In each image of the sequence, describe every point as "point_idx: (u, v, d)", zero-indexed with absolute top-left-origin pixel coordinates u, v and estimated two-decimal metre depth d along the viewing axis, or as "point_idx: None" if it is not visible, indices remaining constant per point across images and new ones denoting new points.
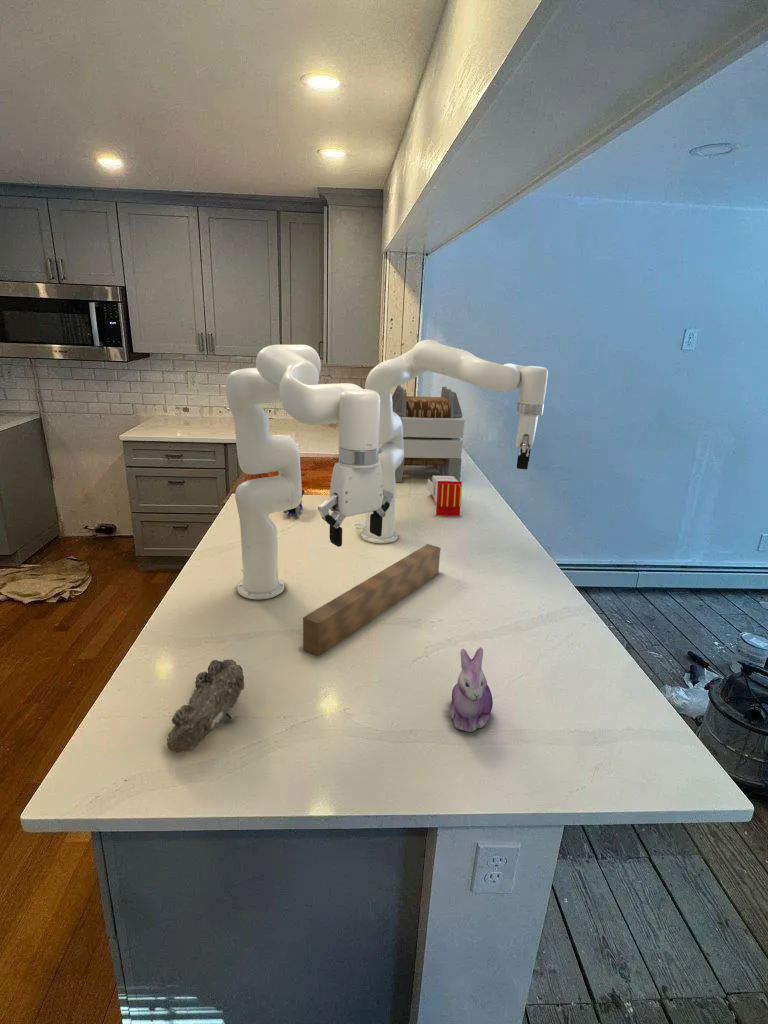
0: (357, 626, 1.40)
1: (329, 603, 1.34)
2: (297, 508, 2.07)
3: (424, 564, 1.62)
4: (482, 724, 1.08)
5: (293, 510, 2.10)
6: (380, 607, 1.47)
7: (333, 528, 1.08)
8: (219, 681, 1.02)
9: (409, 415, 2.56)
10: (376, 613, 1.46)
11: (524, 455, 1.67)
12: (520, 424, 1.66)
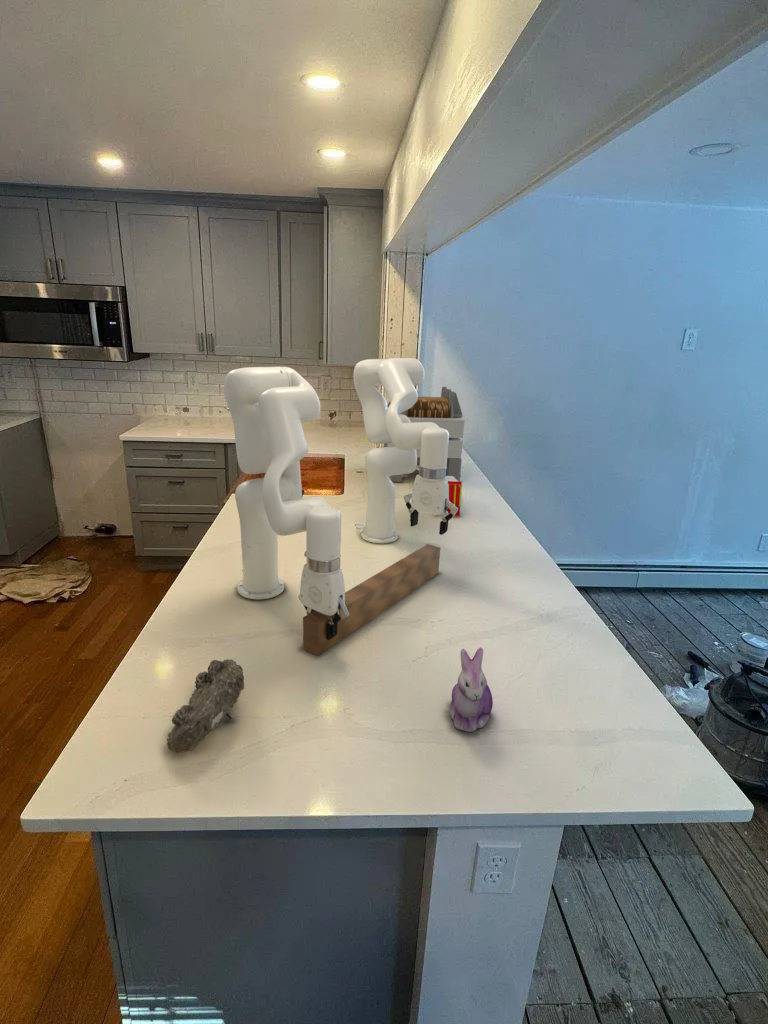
0: (357, 626, 1.40)
1: None
2: None
3: (424, 564, 1.62)
4: (482, 724, 1.08)
5: None
6: (380, 607, 1.47)
7: (336, 623, 1.29)
8: (219, 681, 1.02)
9: (409, 415, 2.56)
10: (376, 613, 1.46)
11: (449, 519, 1.60)
12: (442, 490, 1.56)
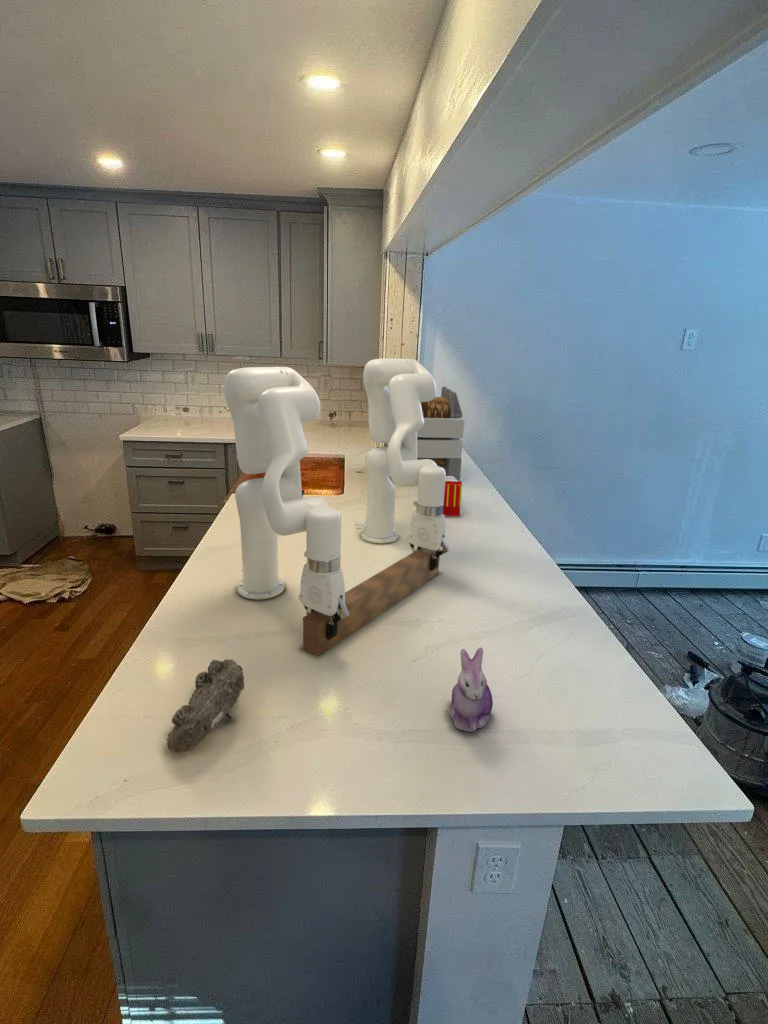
0: (357, 626, 1.40)
1: None
2: None
3: (424, 564, 1.62)
4: (482, 724, 1.08)
5: None
6: (380, 607, 1.47)
7: (336, 623, 1.29)
8: (219, 681, 1.02)
9: None
10: (376, 613, 1.46)
11: None
12: (439, 527, 1.59)
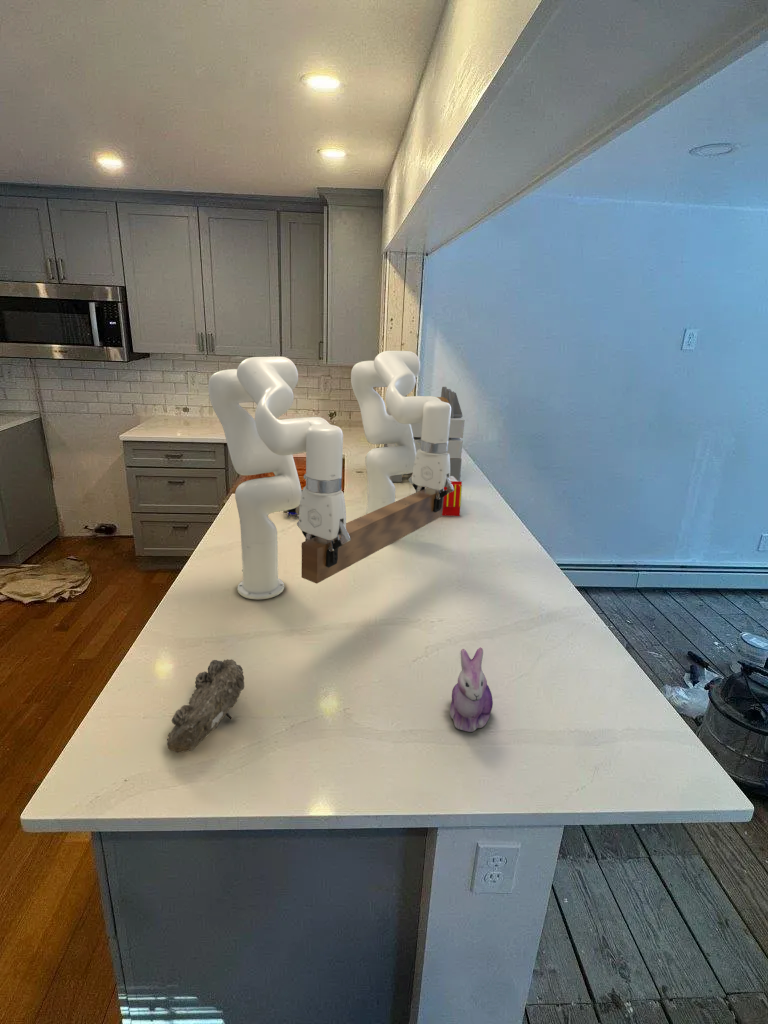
0: (358, 558, 1.34)
1: None
2: (297, 508, 2.07)
3: (427, 504, 1.56)
4: (482, 724, 1.08)
5: (293, 510, 2.10)
6: (382, 542, 1.41)
7: (336, 550, 1.23)
8: (219, 681, 1.02)
9: None
10: (378, 548, 1.40)
11: None
12: (443, 465, 1.53)
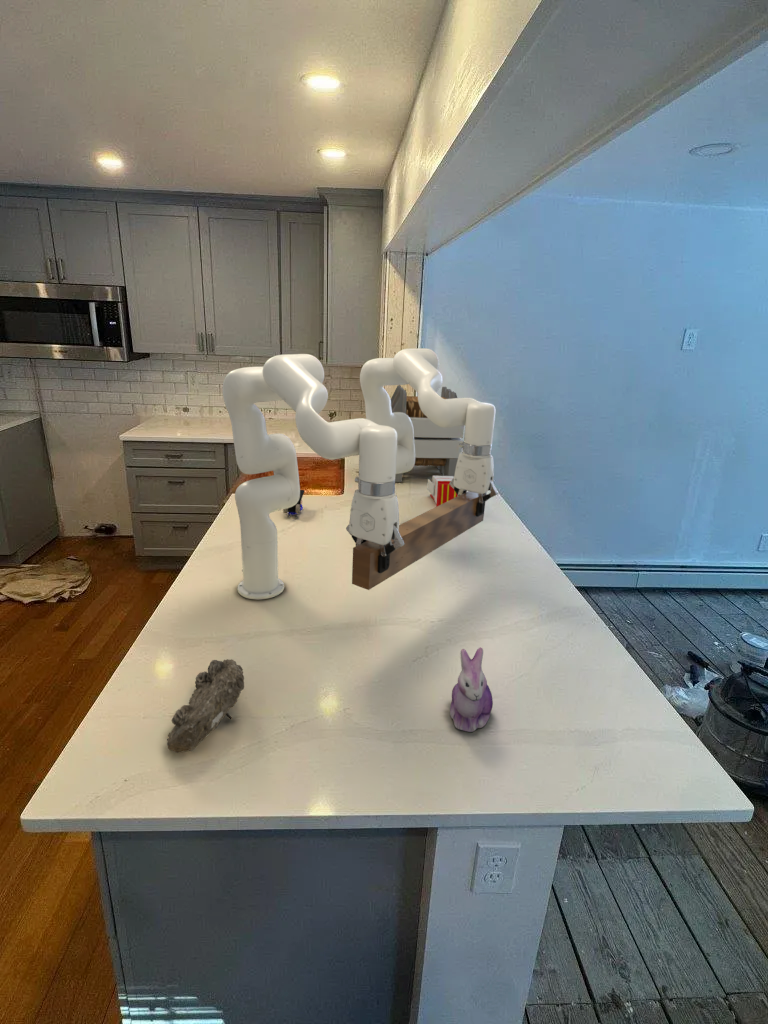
0: (407, 564, 1.30)
1: None
2: (297, 508, 2.07)
3: (470, 507, 1.52)
4: (482, 724, 1.08)
5: (293, 510, 2.10)
6: (429, 546, 1.37)
7: (389, 555, 1.19)
8: (219, 681, 1.02)
9: (409, 415, 2.56)
10: (425, 553, 1.36)
11: (485, 500, 1.55)
12: (487, 468, 1.50)
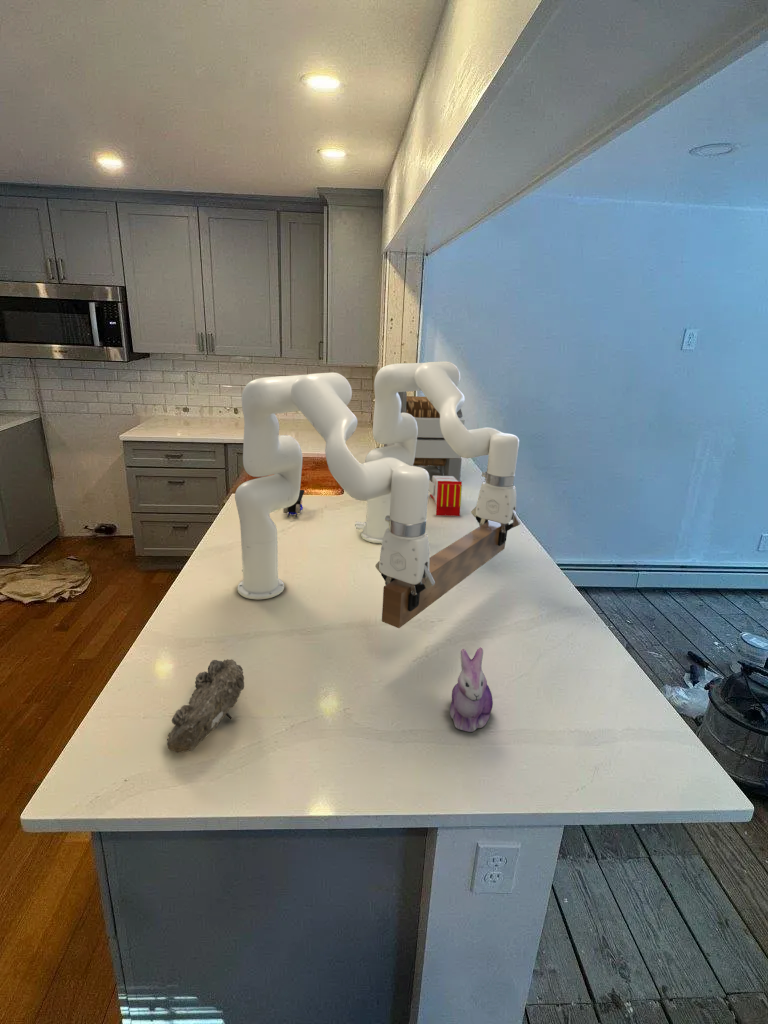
0: (434, 599, 1.30)
1: None
2: (297, 508, 2.07)
3: (493, 537, 1.53)
4: (482, 724, 1.08)
5: (293, 510, 2.10)
6: (454, 580, 1.38)
7: (419, 593, 1.20)
8: (219, 681, 1.02)
9: None
10: (451, 586, 1.37)
11: None
12: (511, 499, 1.50)
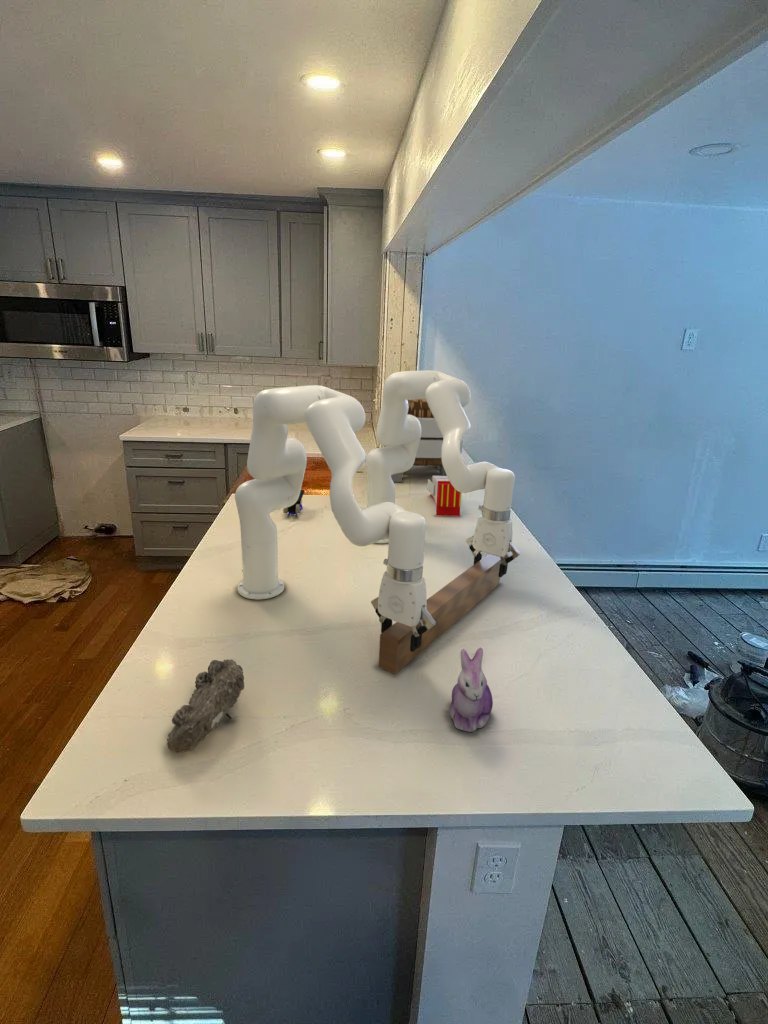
0: (429, 642, 1.34)
1: None
2: (297, 508, 2.07)
3: (488, 575, 1.57)
4: (482, 724, 1.08)
5: (293, 510, 2.10)
6: (449, 621, 1.42)
7: (421, 634, 1.22)
8: (219, 681, 1.02)
9: None
10: (446, 627, 1.41)
11: (508, 562, 1.58)
12: (507, 533, 1.53)
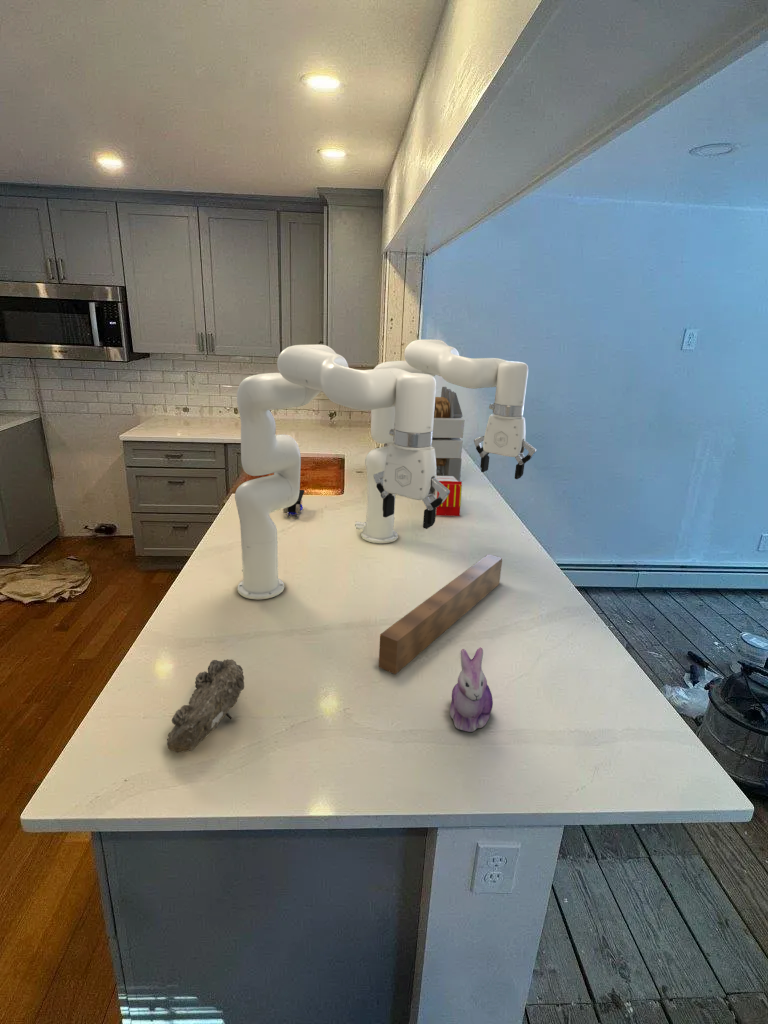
0: (429, 642, 1.34)
1: (403, 618, 1.29)
2: (297, 508, 2.07)
3: (488, 575, 1.57)
4: (482, 724, 1.08)
5: (293, 510, 2.10)
6: (449, 621, 1.42)
7: (435, 509, 1.12)
8: (219, 681, 1.02)
9: None
10: (446, 627, 1.41)
11: (525, 462, 1.48)
12: (520, 429, 1.44)
